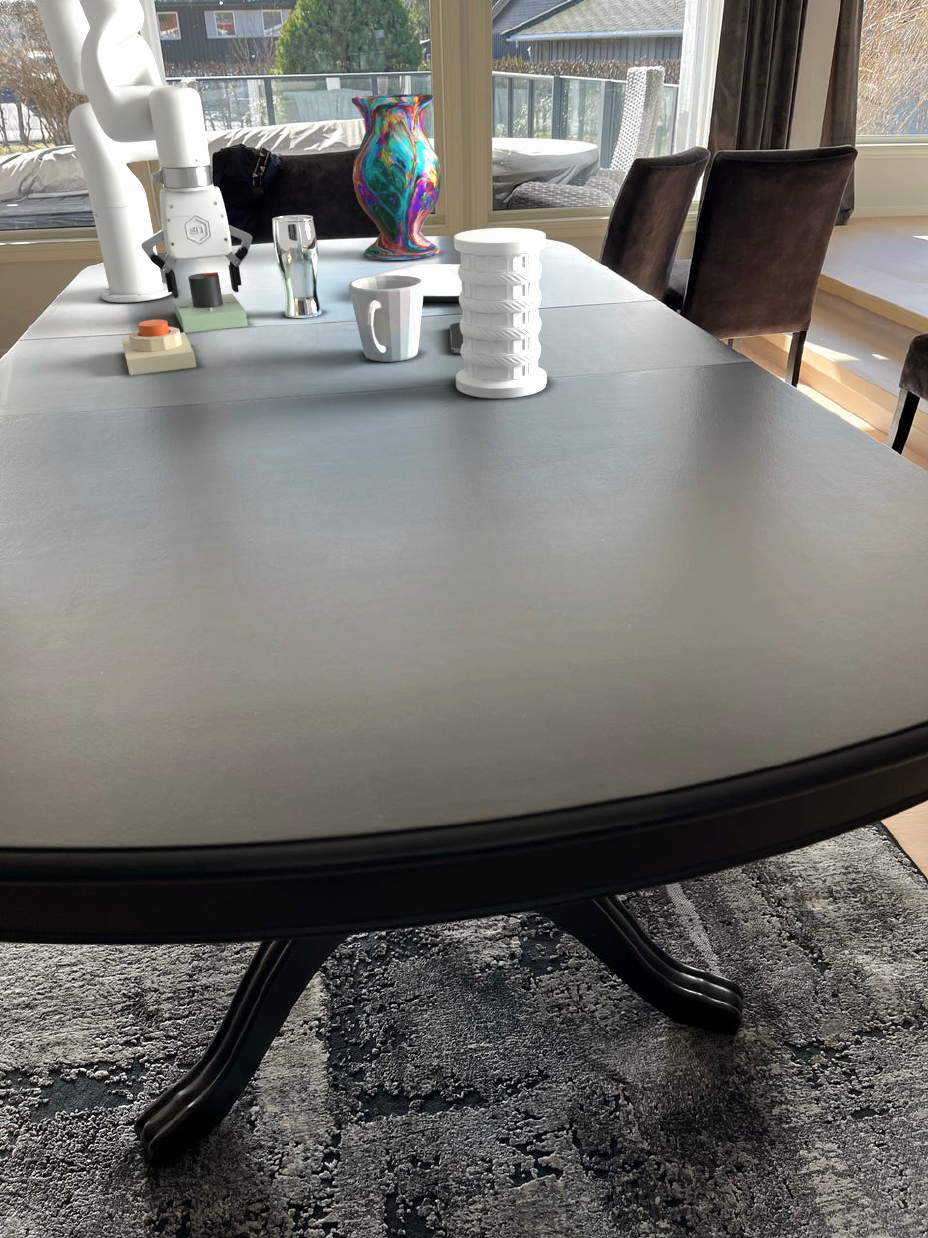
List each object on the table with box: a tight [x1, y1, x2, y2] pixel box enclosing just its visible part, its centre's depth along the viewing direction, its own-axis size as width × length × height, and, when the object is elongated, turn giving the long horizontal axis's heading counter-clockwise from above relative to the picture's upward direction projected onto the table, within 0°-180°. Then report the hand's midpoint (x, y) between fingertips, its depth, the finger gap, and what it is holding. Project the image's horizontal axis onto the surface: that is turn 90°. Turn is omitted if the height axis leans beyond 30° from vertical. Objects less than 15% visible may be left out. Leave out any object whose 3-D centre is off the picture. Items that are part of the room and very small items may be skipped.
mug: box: [348, 275, 424, 363], centre depth 130 cm, size 10×15×10 cm
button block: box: [121, 326, 197, 376], centre depth 135 cm, size 12×9×4 cm
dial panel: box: [172, 293, 248, 334], centre depth 156 cm, size 14×10×3 cm
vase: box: [350, 93, 442, 261], centre depth 196 cm, size 18×18×30 cm
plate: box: [374, 263, 462, 303], centre depth 171 cm, size 27×27×2 cm
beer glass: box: [271, 214, 323, 319], centre depth 154 cm, size 7×7×15 cm
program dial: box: [187, 272, 223, 308], centre depth 154 cm, size 5×5×5 cm
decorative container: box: [453, 227, 547, 399], centre depth 116 cm, size 12×12×18 cm
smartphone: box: [449, 322, 463, 354], centre depth 140 cm, size 8×1×15 cm
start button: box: [137, 319, 169, 337], centre depth 133 cm, size 4×4×2 cm
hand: (205, 293), depth 154 cm, fingers open, 9 cm apart
